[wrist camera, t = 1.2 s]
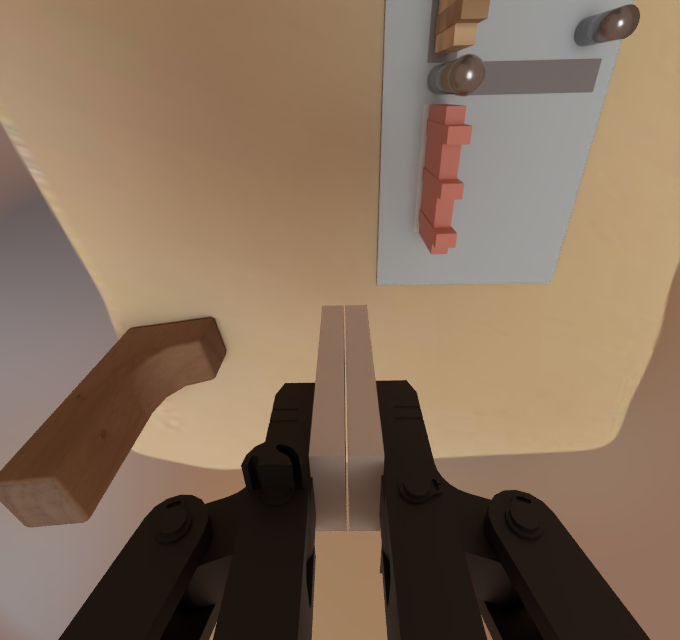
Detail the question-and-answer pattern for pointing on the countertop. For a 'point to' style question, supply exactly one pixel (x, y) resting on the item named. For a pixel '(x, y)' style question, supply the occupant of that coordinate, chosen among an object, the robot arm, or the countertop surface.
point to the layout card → (491, 139)
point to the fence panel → (442, 175)
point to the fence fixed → (458, 24)
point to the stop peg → (607, 26)
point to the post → (457, 76)
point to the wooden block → (105, 421)
